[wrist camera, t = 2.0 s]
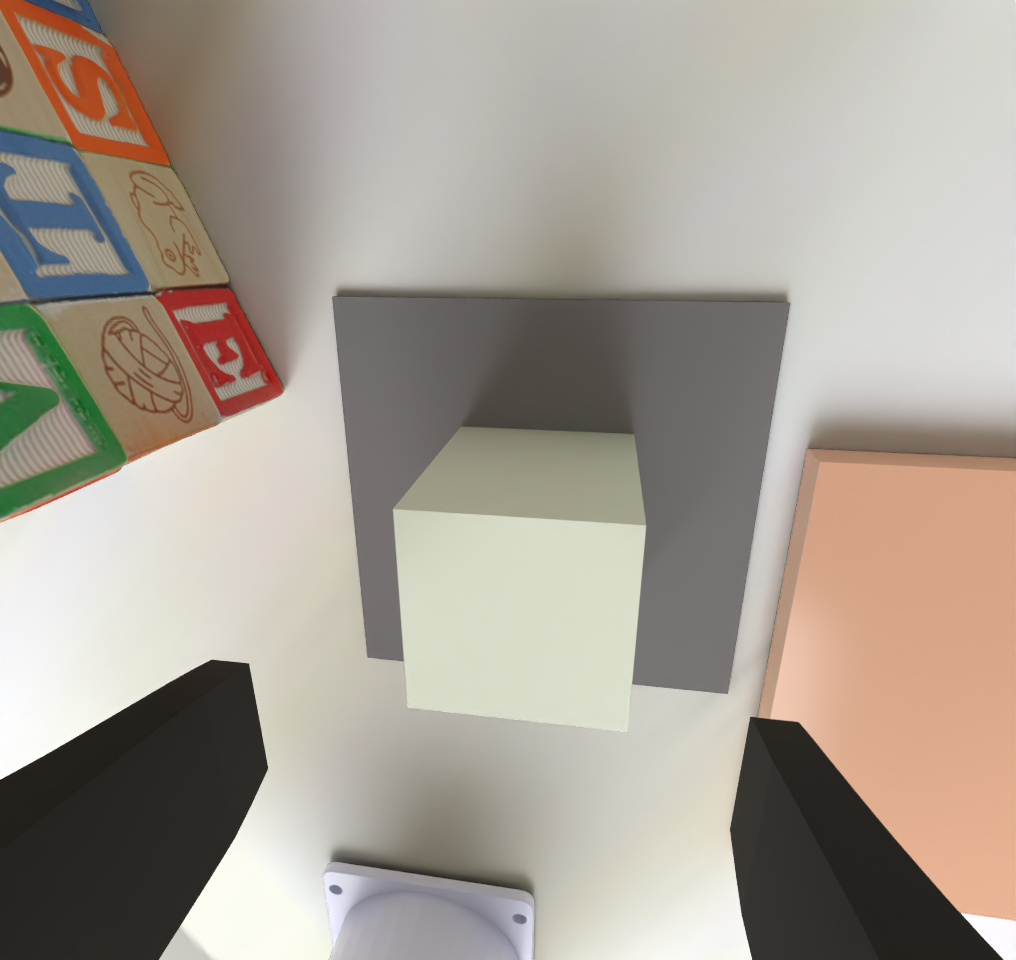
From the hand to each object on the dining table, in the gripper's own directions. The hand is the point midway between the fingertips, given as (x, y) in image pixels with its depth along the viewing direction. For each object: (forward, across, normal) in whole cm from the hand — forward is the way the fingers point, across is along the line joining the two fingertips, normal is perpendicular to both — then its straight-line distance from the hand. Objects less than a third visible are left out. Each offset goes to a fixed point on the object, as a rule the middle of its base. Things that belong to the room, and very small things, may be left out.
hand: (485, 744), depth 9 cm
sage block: (+8, 0, 0) cm, 8 cm away
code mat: (+9, 0, 0) cm, 9 cm away
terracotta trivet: (+9, -12, +5) cm, 16 cm away
